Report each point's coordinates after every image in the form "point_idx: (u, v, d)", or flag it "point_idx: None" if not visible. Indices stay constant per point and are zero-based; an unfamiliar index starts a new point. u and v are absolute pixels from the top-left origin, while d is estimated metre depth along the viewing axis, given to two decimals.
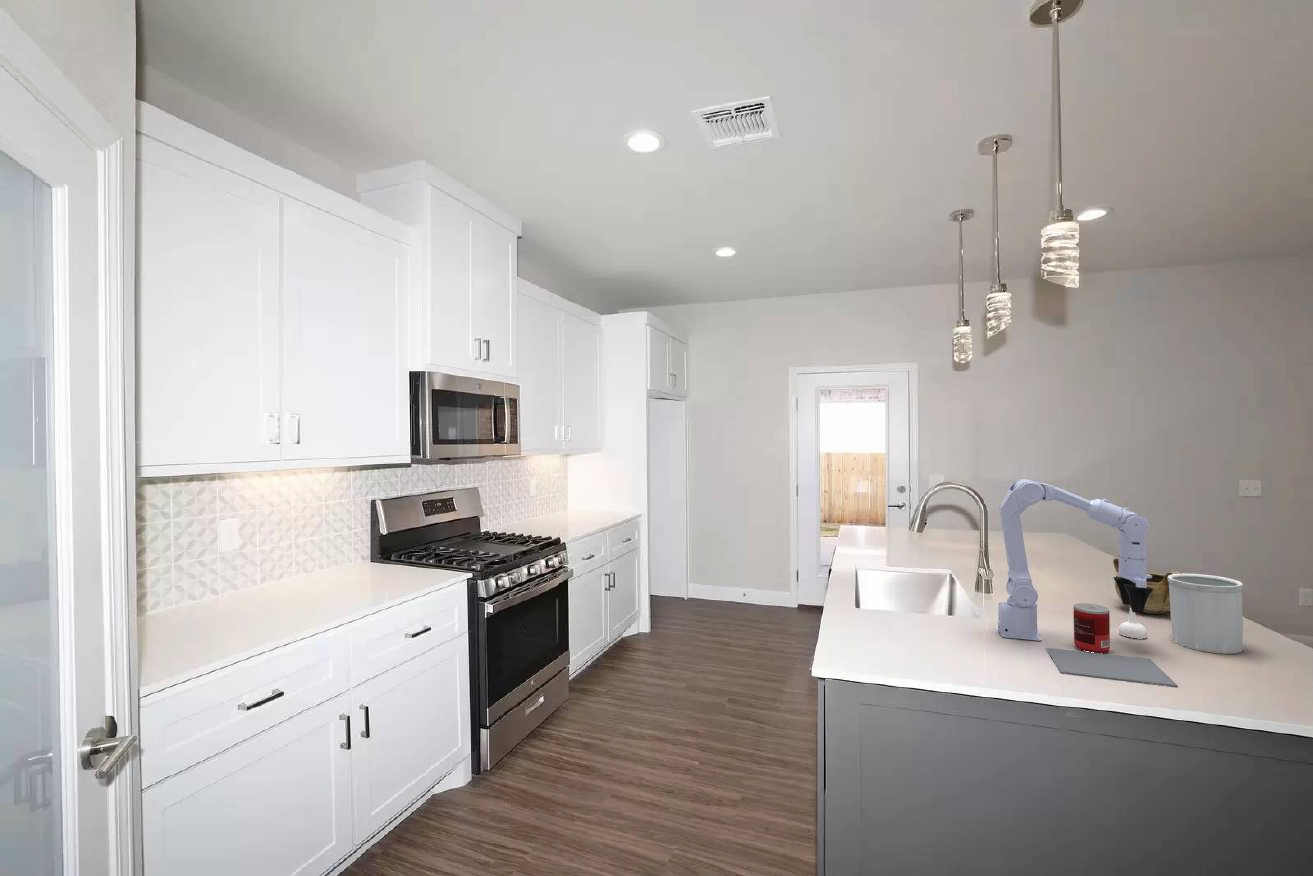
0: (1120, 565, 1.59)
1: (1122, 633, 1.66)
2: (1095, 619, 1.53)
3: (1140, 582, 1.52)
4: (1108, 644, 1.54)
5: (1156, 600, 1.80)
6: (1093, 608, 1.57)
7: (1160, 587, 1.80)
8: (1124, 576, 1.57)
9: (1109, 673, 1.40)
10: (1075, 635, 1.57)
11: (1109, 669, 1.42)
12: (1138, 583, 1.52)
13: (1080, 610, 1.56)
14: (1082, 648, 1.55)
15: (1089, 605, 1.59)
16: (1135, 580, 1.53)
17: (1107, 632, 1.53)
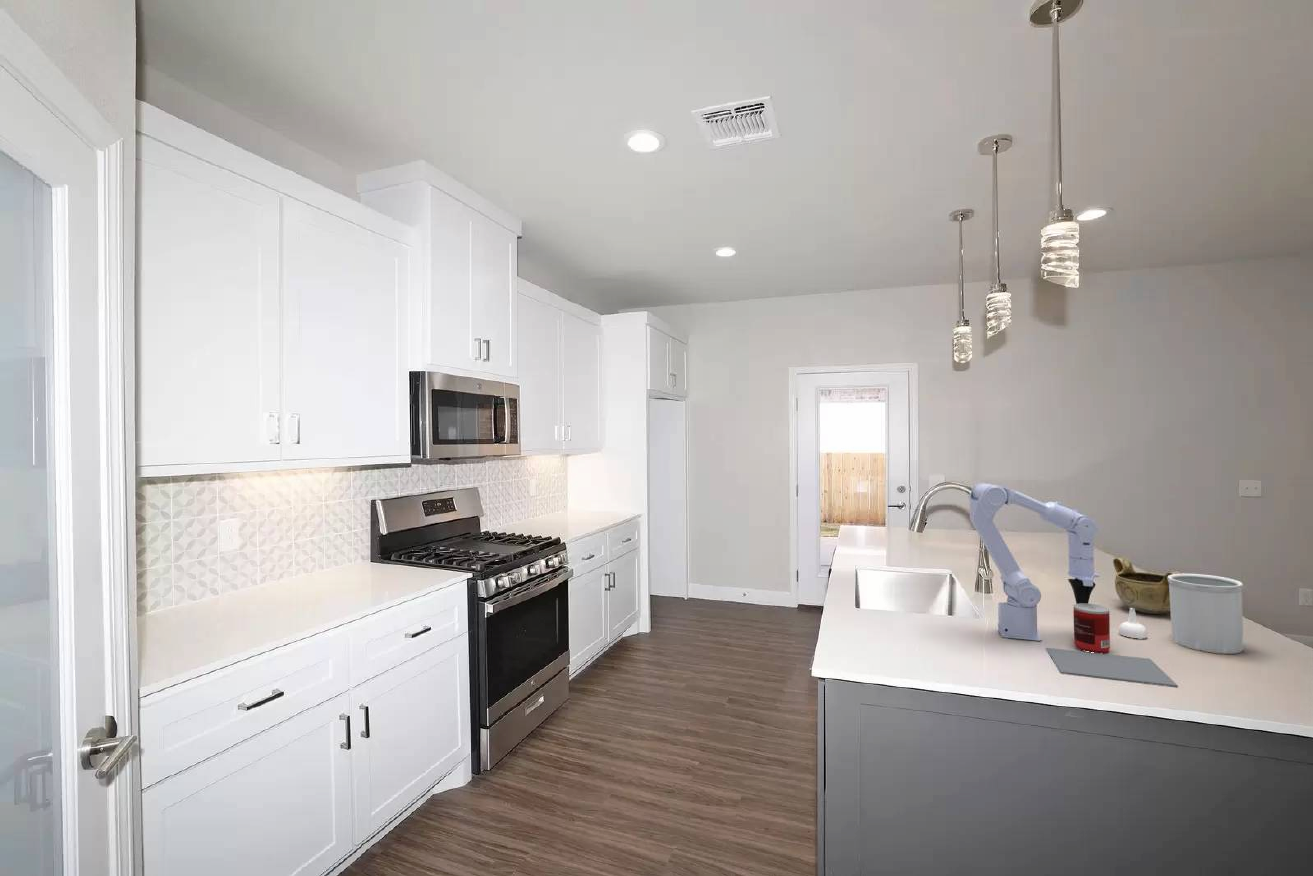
0: (1070, 565, 1.66)
1: (1122, 633, 1.66)
2: (1095, 619, 1.53)
3: (1087, 581, 1.59)
4: (1108, 644, 1.54)
5: (1156, 600, 1.80)
6: (1093, 608, 1.57)
7: (1160, 587, 1.80)
8: (1073, 575, 1.64)
9: (1109, 673, 1.40)
10: (1075, 635, 1.57)
11: (1109, 669, 1.42)
12: (1085, 582, 1.59)
13: (1080, 610, 1.56)
14: (1082, 648, 1.55)
15: (1089, 605, 1.59)
16: (1082, 579, 1.60)
17: (1107, 632, 1.53)
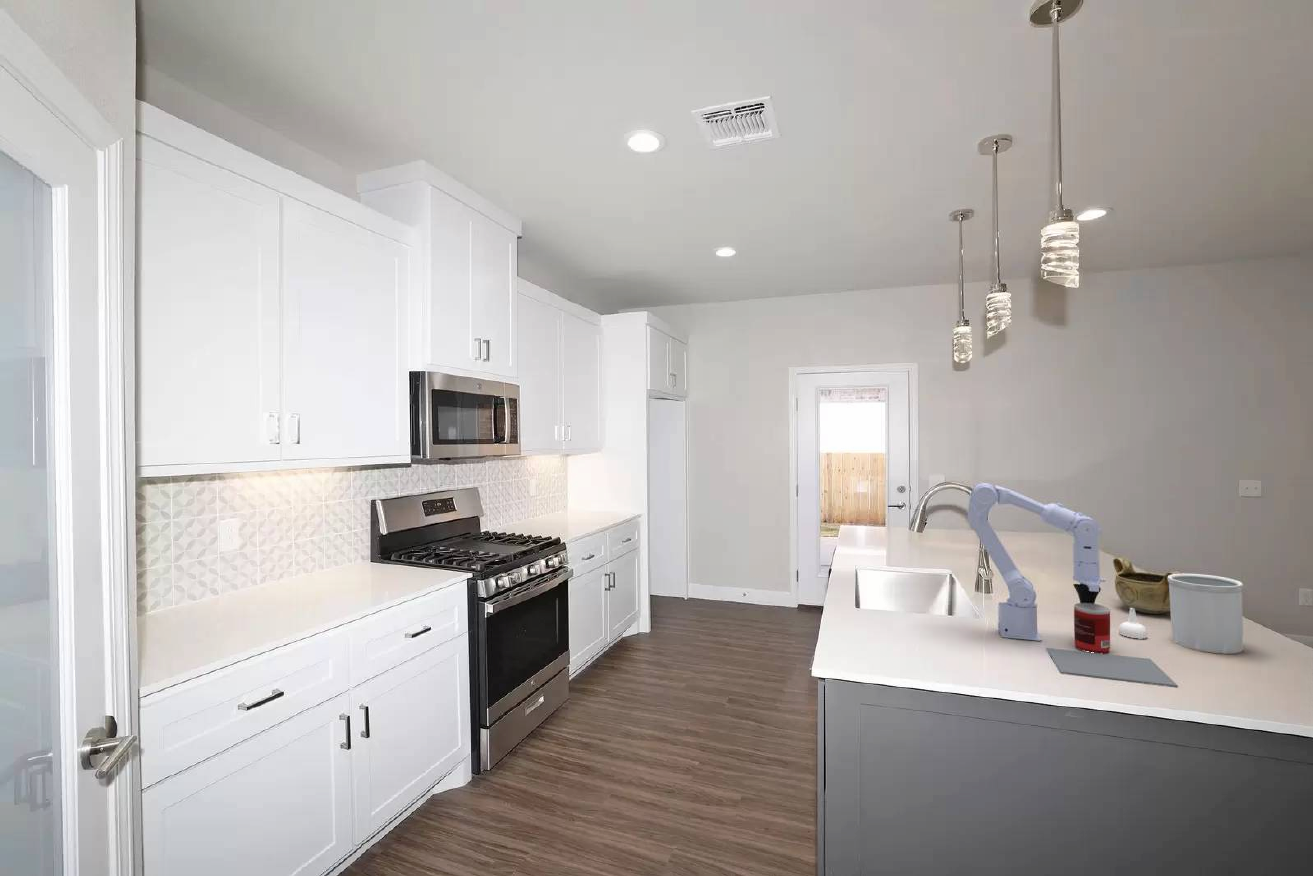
0: (1075, 569, 1.61)
1: (1122, 633, 1.66)
2: (1095, 619, 1.53)
3: (1093, 586, 1.54)
4: (1108, 644, 1.53)
5: (1156, 600, 1.80)
6: (1094, 608, 1.56)
7: (1160, 587, 1.80)
8: (1078, 580, 1.59)
9: (1109, 673, 1.40)
10: (1075, 635, 1.57)
11: (1109, 669, 1.42)
12: (1091, 587, 1.54)
13: (1080, 610, 1.55)
14: (1082, 648, 1.55)
15: (1090, 605, 1.59)
16: (1088, 584, 1.55)
17: (1107, 632, 1.53)
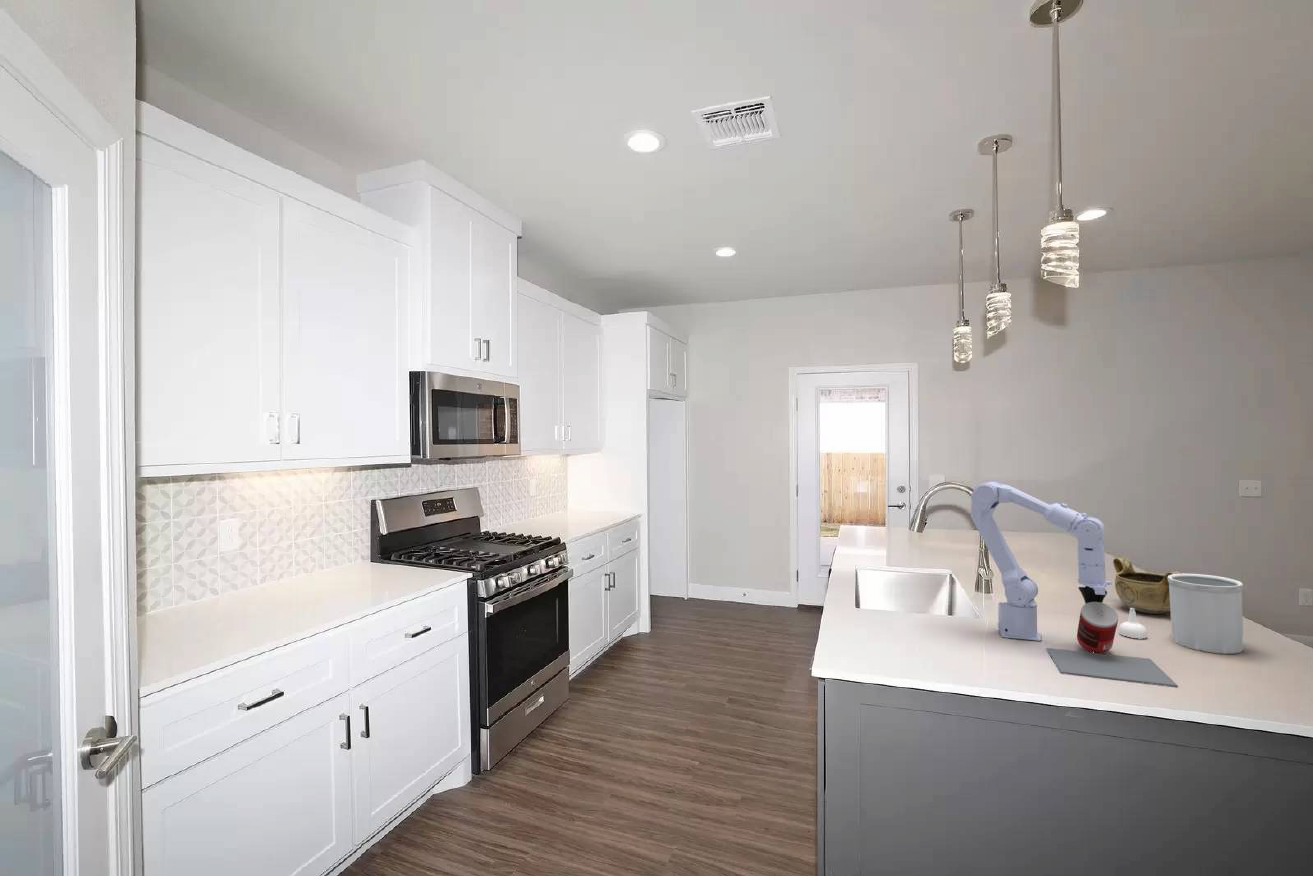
0: (1080, 572, 1.57)
1: (1122, 633, 1.66)
2: (1101, 631, 1.49)
3: (1099, 589, 1.50)
4: (1111, 644, 1.52)
5: (1156, 600, 1.80)
6: (1102, 614, 1.50)
7: (1160, 587, 1.80)
8: (1084, 583, 1.55)
9: (1109, 673, 1.40)
10: (1078, 633, 1.55)
11: (1109, 669, 1.42)
12: (1097, 590, 1.50)
13: (1087, 621, 1.50)
14: (1083, 647, 1.55)
15: (1098, 605, 1.53)
16: (1094, 587, 1.51)
17: (1112, 637, 1.50)
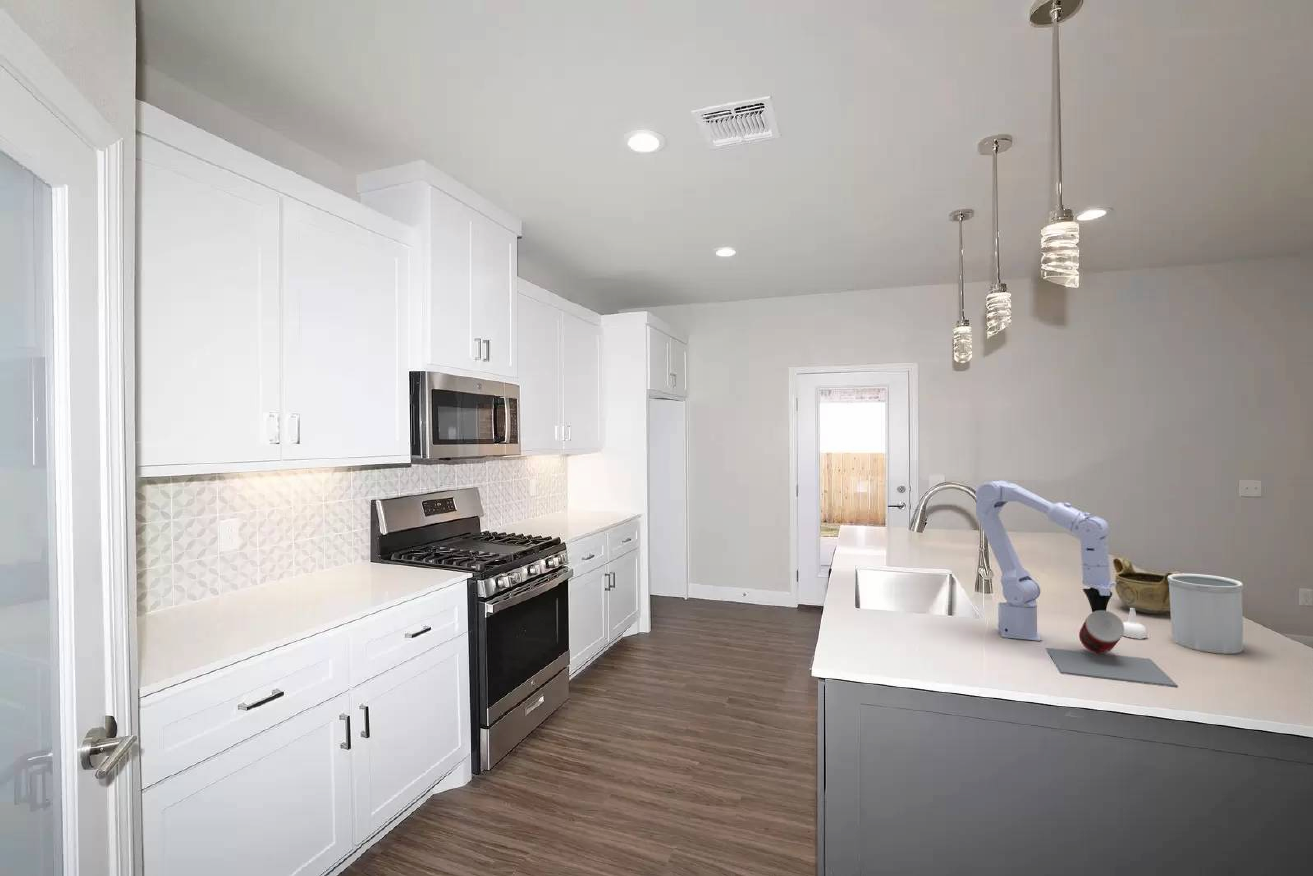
0: (1084, 573, 1.54)
1: None
2: (1104, 643, 1.46)
3: (1103, 590, 1.47)
4: None
5: (1156, 600, 1.80)
6: (1107, 626, 1.47)
7: (1160, 587, 1.80)
8: (1088, 584, 1.52)
9: (1109, 673, 1.40)
10: (1081, 635, 1.54)
11: (1109, 669, 1.42)
12: (1101, 591, 1.47)
13: (1091, 634, 1.47)
14: (1085, 646, 1.54)
15: (1105, 614, 1.48)
16: (1098, 588, 1.48)
17: (1115, 644, 1.48)
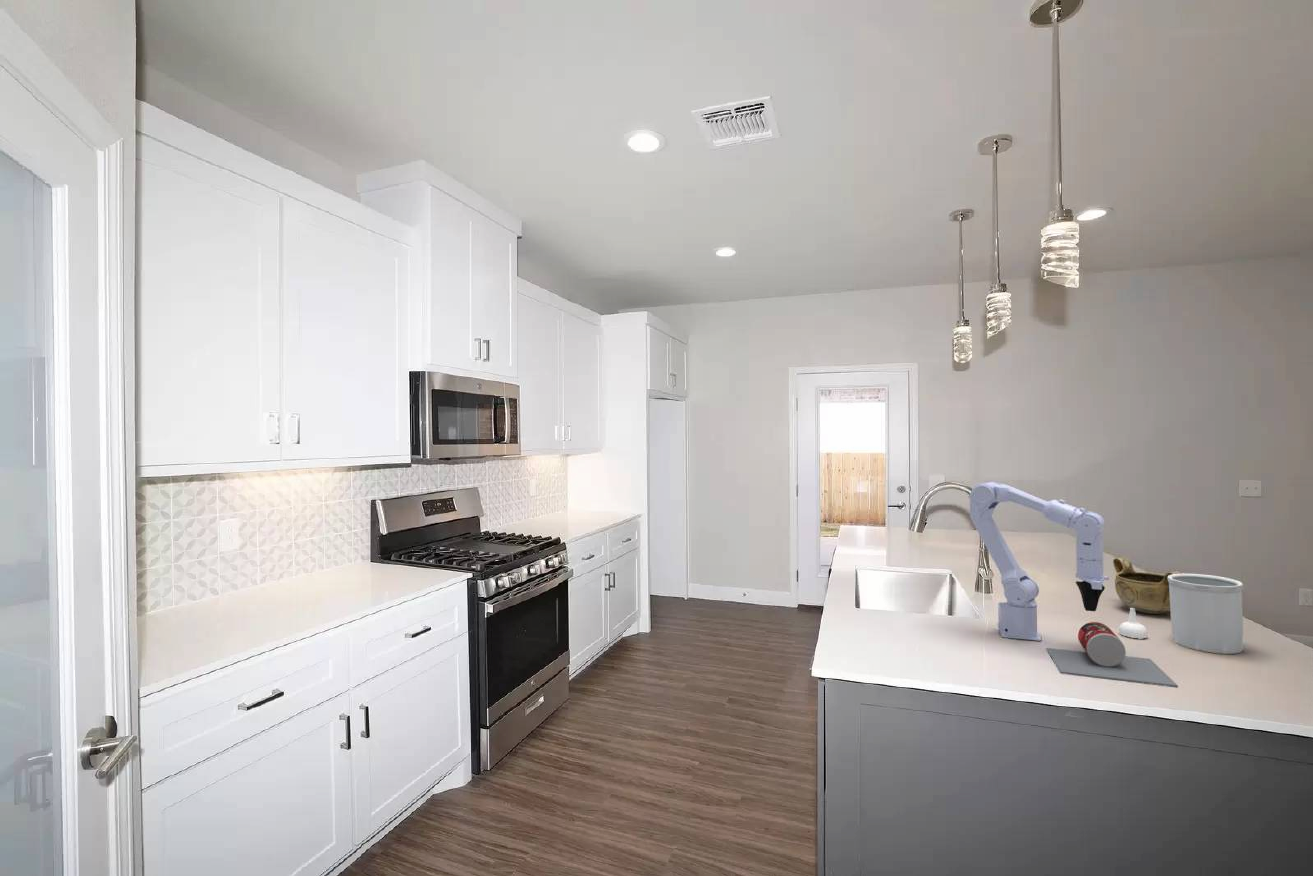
0: (1077, 566, 1.56)
1: (1122, 633, 1.66)
2: None
3: (1095, 584, 1.50)
4: None
5: (1156, 600, 1.80)
6: (1109, 650, 1.44)
7: (1160, 587, 1.80)
8: (1081, 578, 1.55)
9: (1109, 673, 1.40)
10: (1081, 643, 1.52)
11: (1109, 669, 1.42)
12: (1093, 585, 1.50)
13: (1092, 659, 1.45)
14: None
15: (1106, 638, 1.44)
16: (1091, 582, 1.51)
17: None
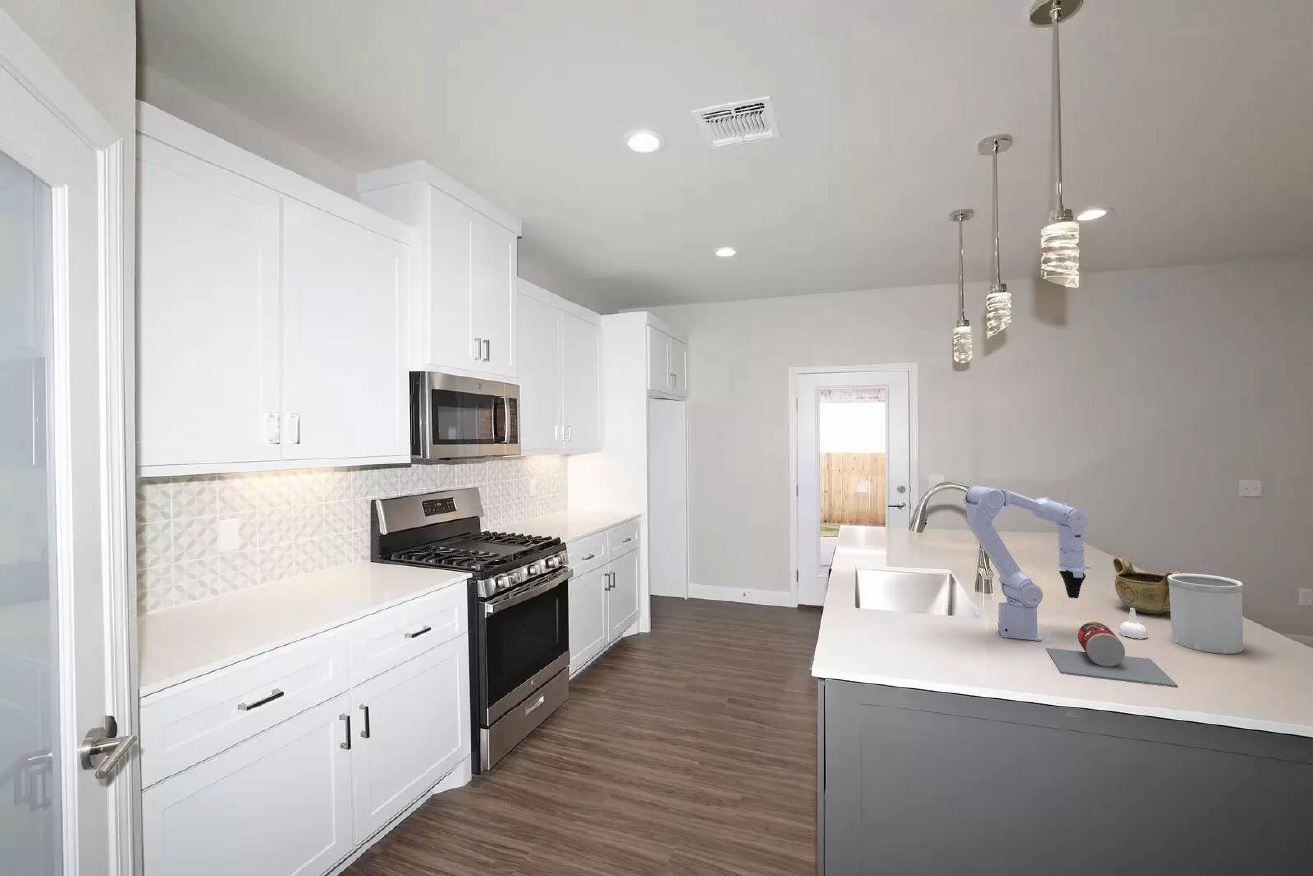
0: (1060, 557, 1.69)
1: (1122, 633, 1.66)
2: None
3: (1077, 572, 1.62)
4: None
5: (1156, 600, 1.80)
6: (1108, 650, 1.44)
7: (1160, 587, 1.80)
8: (1064, 567, 1.67)
9: (1109, 673, 1.40)
10: (1080, 643, 1.52)
11: (1109, 669, 1.42)
12: (1075, 573, 1.62)
13: (1092, 660, 1.45)
14: None
15: (1105, 638, 1.44)
16: (1073, 571, 1.63)
17: None
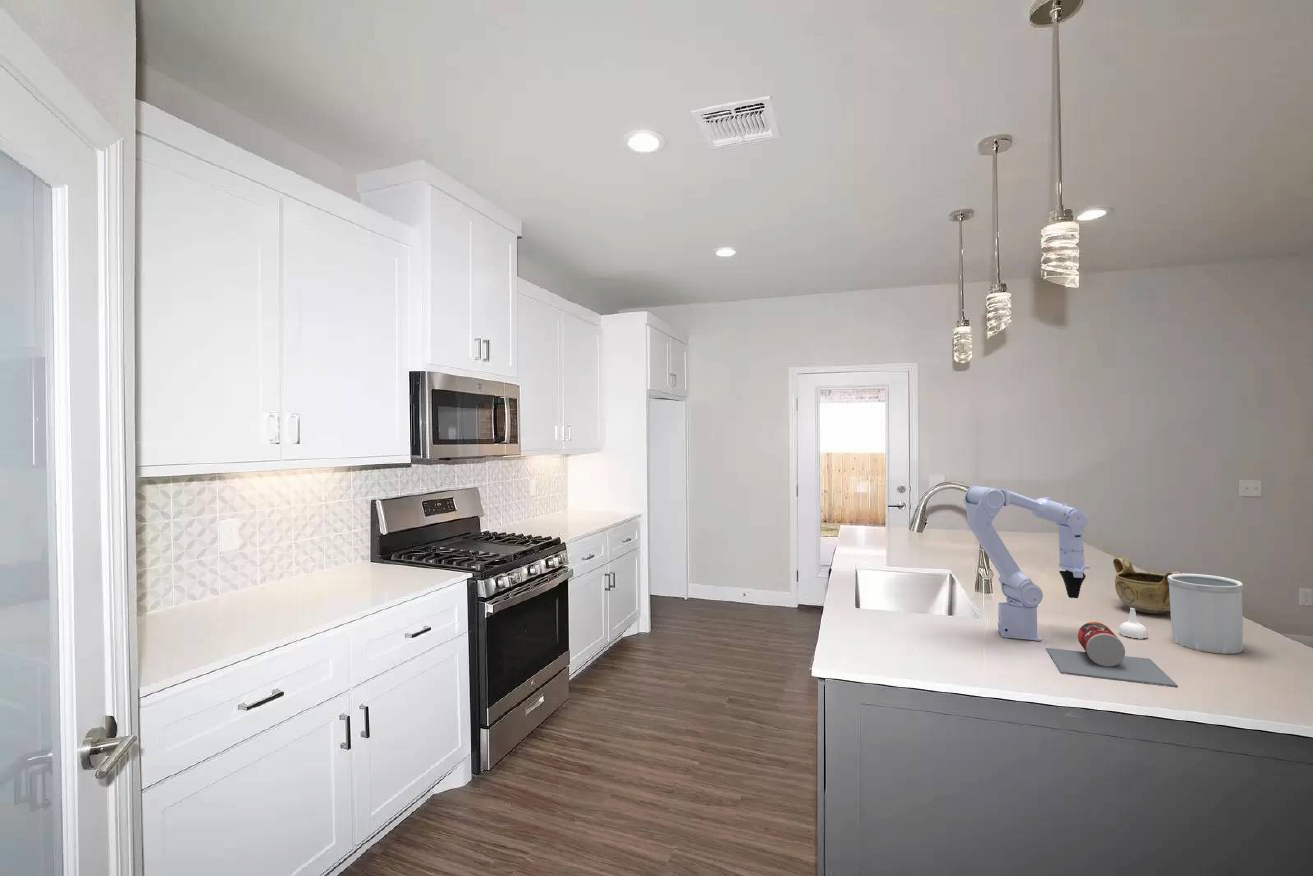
0: (1060, 557, 1.69)
1: (1122, 633, 1.66)
2: None
3: (1077, 572, 1.62)
4: None
5: (1156, 600, 1.80)
6: (1108, 650, 1.44)
7: (1160, 587, 1.80)
8: (1064, 567, 1.67)
9: (1109, 673, 1.40)
10: (1080, 643, 1.52)
11: (1109, 669, 1.42)
12: (1075, 573, 1.62)
13: (1092, 660, 1.45)
14: None
15: (1105, 638, 1.44)
16: (1073, 571, 1.63)
17: None
